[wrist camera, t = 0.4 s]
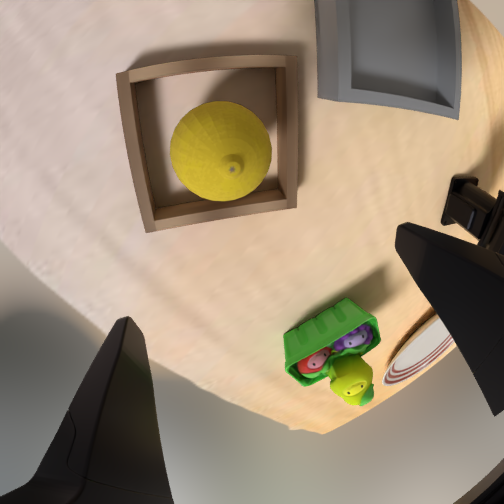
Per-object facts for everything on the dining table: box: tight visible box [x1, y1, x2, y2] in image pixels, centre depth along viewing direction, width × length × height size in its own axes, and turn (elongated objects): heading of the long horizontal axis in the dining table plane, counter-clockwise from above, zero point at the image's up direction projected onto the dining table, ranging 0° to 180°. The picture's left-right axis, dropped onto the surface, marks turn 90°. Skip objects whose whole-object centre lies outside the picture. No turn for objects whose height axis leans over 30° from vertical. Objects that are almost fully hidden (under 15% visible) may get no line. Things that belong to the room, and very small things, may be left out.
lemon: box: [170, 101, 272, 201], centre depth 15 cm, size 6×6×8 cm
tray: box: [314, 0, 462, 120], centre depth 14 cm, size 14×14×3 cm
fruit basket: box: [283, 298, 381, 406], centre depth 29 cm, size 11×9×11 cm
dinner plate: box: [382, 313, 455, 386], centre depth 48 cm, size 27×27×3 cm
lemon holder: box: [116, 55, 298, 233], centre depth 17 cm, size 11×11×2 cm
